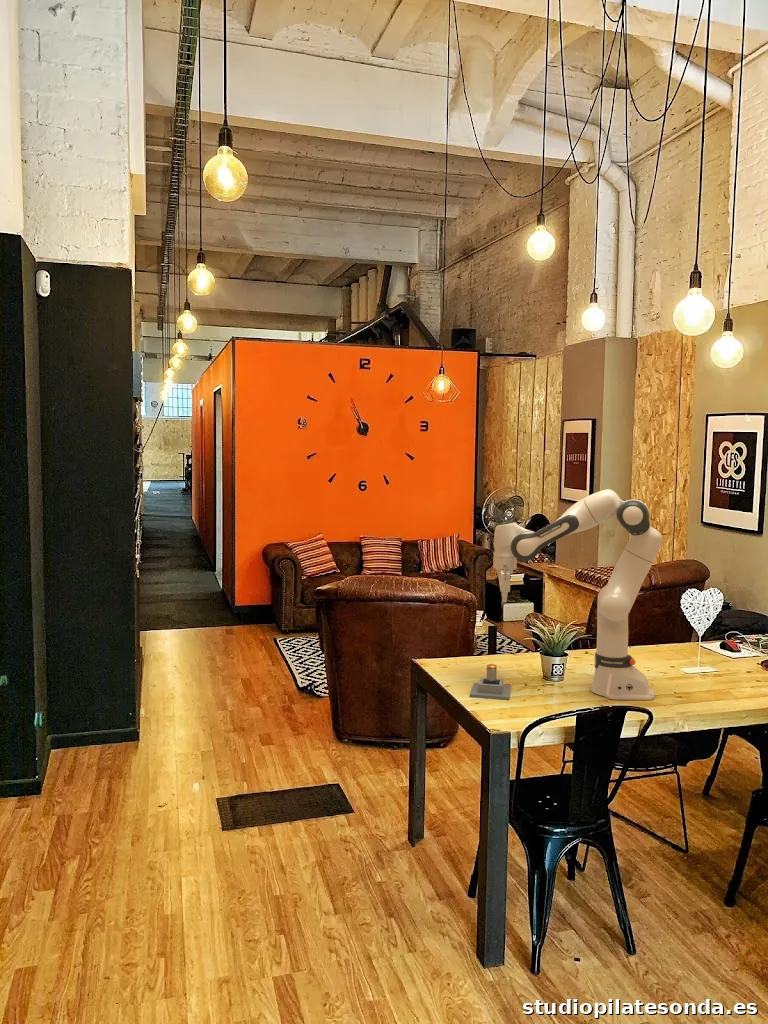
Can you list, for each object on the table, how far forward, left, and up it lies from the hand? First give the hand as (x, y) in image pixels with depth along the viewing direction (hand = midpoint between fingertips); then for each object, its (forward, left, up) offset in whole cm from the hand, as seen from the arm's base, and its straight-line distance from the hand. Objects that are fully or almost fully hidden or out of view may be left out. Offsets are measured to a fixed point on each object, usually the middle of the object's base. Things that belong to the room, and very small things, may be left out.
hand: (504, 599), depth 297 cm
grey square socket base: (+3, +18, -31) cm, 36 cm away
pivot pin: (+3, +18, -30) cm, 35 cm away
